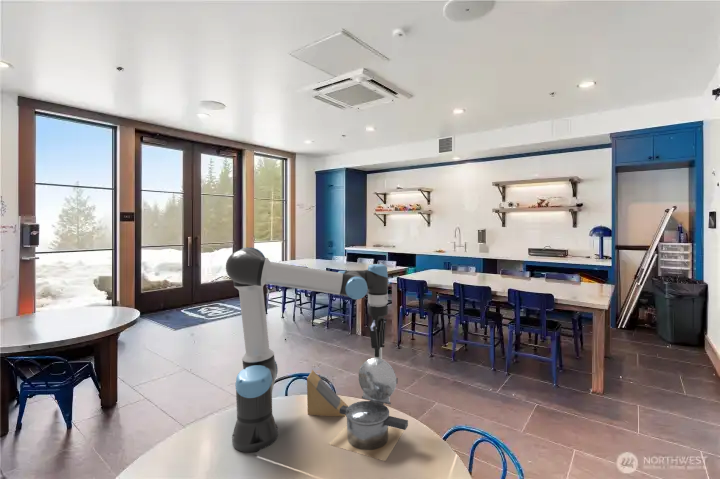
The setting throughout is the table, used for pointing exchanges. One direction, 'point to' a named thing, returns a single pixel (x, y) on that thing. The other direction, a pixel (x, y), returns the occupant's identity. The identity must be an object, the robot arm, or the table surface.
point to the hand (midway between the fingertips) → (378, 364)
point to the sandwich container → (322, 398)
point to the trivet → (376, 453)
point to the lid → (377, 380)
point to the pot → (369, 424)
